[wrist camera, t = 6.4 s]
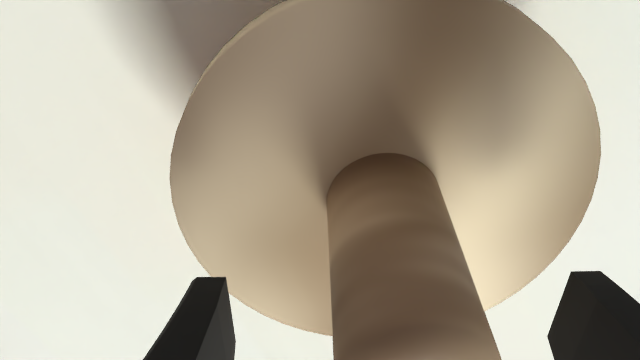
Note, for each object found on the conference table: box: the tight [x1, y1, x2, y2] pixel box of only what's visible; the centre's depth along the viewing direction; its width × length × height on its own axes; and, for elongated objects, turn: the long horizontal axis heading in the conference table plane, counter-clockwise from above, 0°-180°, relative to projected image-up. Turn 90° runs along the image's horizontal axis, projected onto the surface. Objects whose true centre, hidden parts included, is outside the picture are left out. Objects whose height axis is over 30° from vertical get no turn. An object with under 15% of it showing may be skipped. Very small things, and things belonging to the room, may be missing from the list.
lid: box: [170, 0, 601, 360], centre depth 11 cm, size 10×10×6 cm
